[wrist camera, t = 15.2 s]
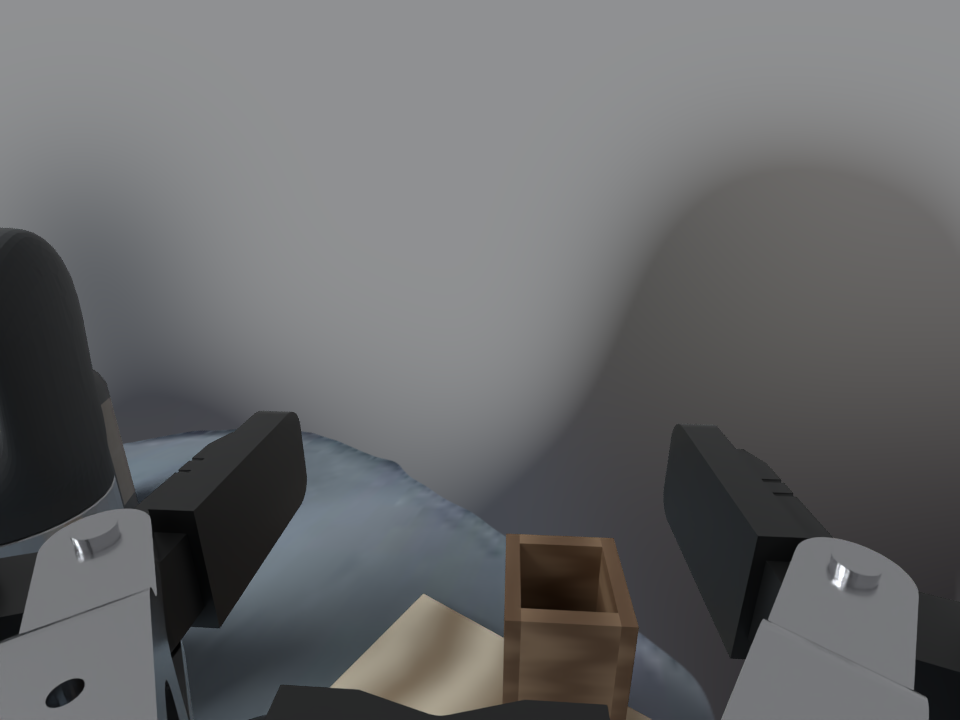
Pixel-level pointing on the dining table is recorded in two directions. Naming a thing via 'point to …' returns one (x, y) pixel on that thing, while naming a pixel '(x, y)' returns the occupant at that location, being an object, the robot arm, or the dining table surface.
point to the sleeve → (567, 622)
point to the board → (435, 663)
